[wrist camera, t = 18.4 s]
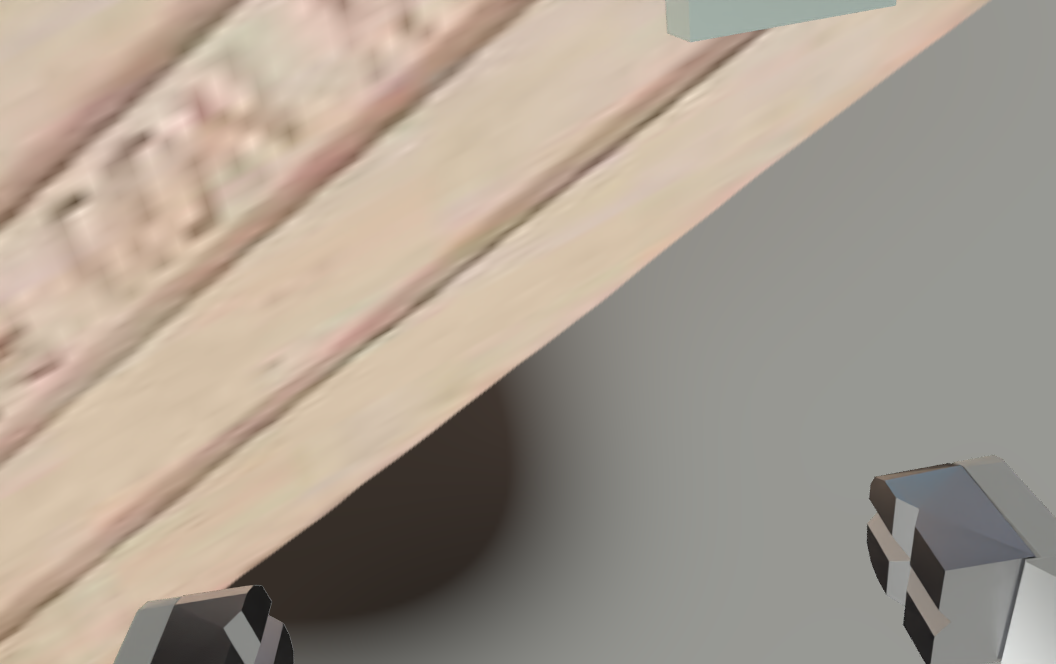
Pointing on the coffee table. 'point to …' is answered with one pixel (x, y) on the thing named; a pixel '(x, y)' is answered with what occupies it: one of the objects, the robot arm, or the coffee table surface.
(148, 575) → the coffee table surface
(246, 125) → the coffee table surface
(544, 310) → the coffee table surface
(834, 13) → the block
